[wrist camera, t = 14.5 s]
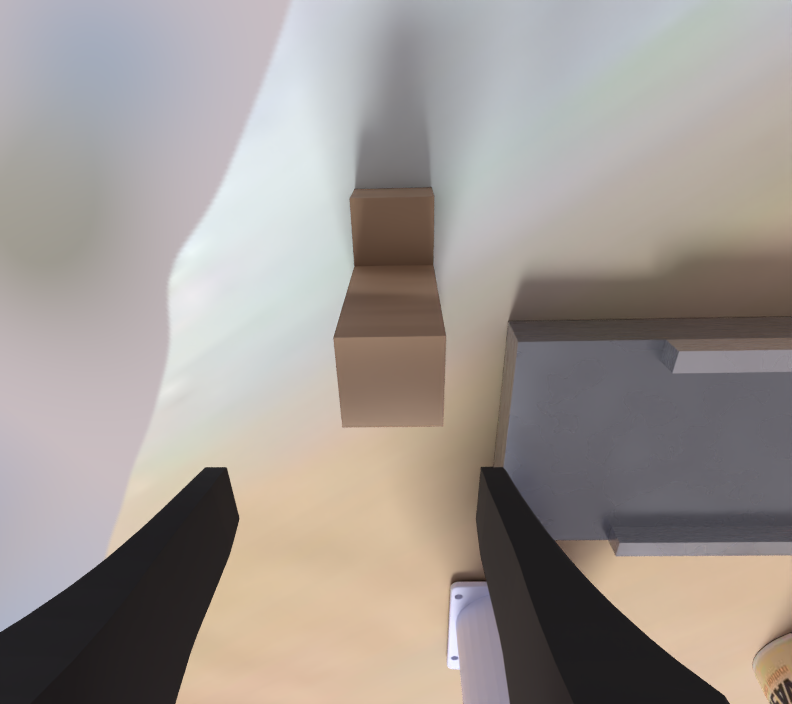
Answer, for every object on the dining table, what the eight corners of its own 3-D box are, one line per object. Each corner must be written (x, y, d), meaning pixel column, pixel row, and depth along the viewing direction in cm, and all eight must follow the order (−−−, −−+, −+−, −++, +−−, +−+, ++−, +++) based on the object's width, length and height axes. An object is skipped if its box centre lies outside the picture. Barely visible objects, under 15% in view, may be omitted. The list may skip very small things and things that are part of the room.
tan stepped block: (429, 363, 22) (441, 488, 15) (366, 364, 22) (348, 488, 15) (431, 187, 18) (448, 242, 11) (355, 188, 18) (324, 245, 11)
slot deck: (844, 508, 26) (894, 554, 23) (488, 511, 26) (498, 556, 24) (967, 313, 20) (1050, 345, 18) (508, 321, 21) (523, 353, 18)
